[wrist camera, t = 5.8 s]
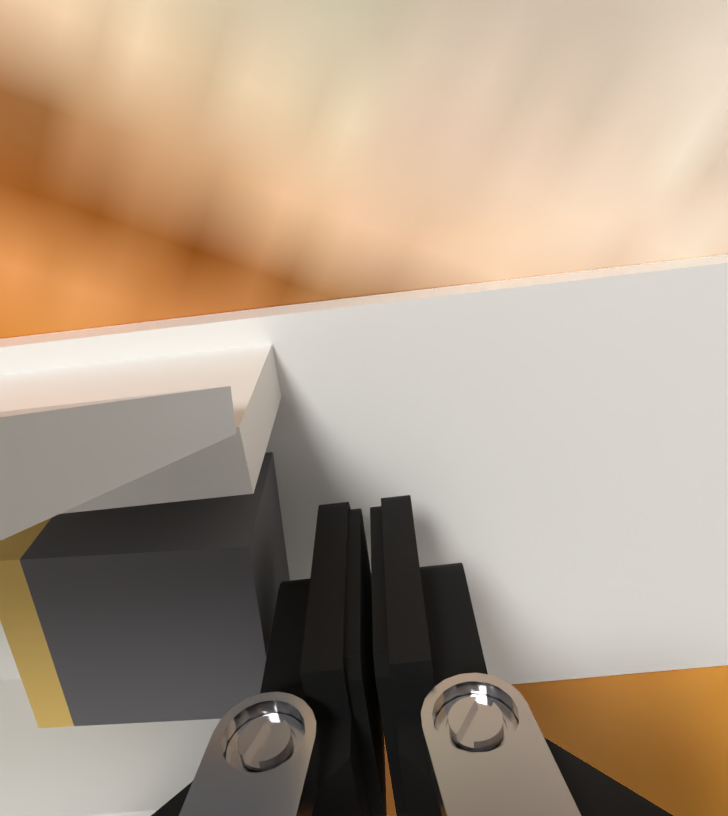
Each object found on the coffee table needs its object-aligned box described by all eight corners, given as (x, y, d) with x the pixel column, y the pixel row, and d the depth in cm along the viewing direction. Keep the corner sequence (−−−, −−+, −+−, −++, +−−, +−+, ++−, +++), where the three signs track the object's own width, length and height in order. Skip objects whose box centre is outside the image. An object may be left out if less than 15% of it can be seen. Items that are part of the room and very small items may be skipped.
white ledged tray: (780, 247, 12) (973, 308, 8) (728, 643, 15) (844, 811, 12) (-556, 403, 13) (-928, 520, 9) (-310, 738, 16) (-506, 919, 13)
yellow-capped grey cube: (272, 452, 12) (248, 547, 10) (292, 596, 14) (275, 715, 11) (62, 464, 13) (-21, 561, 10) (102, 607, 14) (38, 727, 11)
